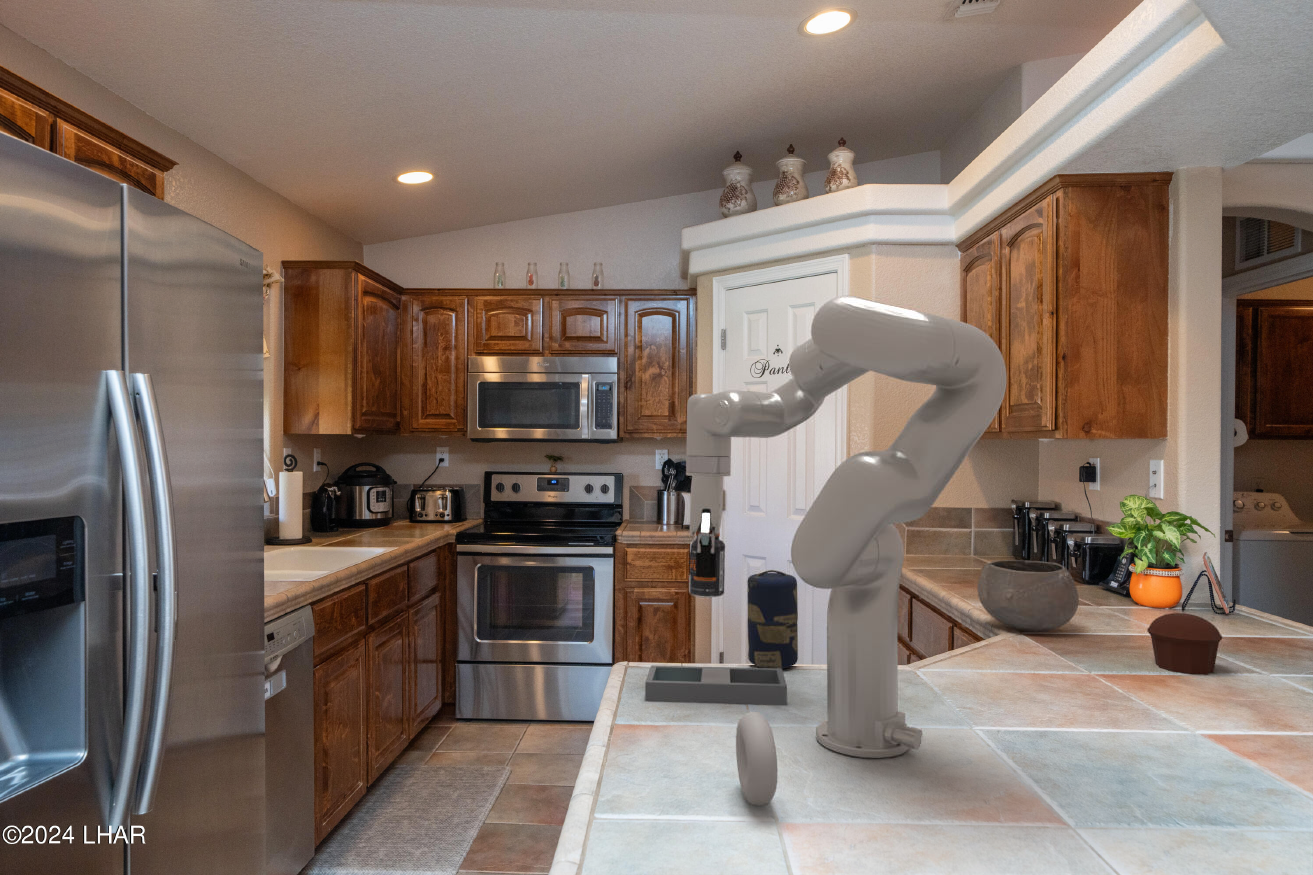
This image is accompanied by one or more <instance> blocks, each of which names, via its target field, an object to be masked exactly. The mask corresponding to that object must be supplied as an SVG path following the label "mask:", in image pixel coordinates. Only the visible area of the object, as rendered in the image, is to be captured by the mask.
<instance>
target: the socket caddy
mask: <svg viewBox="0 0 1313 875" xmlns="http://www.w3.org/2000/svg"><path fill="white" fill-rule="evenodd" d="M646 676H647V677H646V679H645V682H644V683H645V684H644V685H645V687H644V688H645V690H644V691H645V693H644V695H645V697H644V701H646V702H672V703H673V702H676V703H677V702H678V703H704V704H705V703H707V704H708V703H710V704H711V703H712V704H737V705H738V704H739V705H740V704H741V705H743V704H744V705H775V706H787V705H788V685H787V682H786V678H785V675H784V671H783V668H780V669H775V668H764V667H728V666H727V667H724V666H696V665H695V666H693V665H689V666H688V665H686V666H685V665H657V664H655V665H654V664H653V665H650V667H649V671H648V673H647V675H646Z"/></svg>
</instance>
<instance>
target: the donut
mask: <svg viewBox="0 0 1313 875" xmlns="http://www.w3.org/2000/svg"><path fill="white" fill-rule="evenodd" d="M735 752H736V753H735V754H736V756H735V757H736V764H737V765H736V767H737V774H738V780H739V784H740V787H741V788H740V789H741V791H742V794H743V795H744V797H745V798H746V800H747V802H749V803H750V804H752V805H754V806H759V807H760V806H765V805H767V804H769V803H771V802H772V800H773V799H774V796H775V794H776V792H777V785H778V759H777V758H778V757H777V748H776V743H775V737H774V734H773V730H772V726H771V725H770V723H769V720H767V718H766V717H765V716H764V715H763V714H761V713H760V712H757V711H749V712H747V713H744V714H743V715H742V716H741V717H740V719H739V720H738V722H737V727H736V733H735Z"/></svg>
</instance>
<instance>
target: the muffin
mask: <svg viewBox="0 0 1313 875" xmlns="http://www.w3.org/2000/svg"><path fill="white" fill-rule="evenodd" d="M1147 633H1148V635H1150V638H1151V644H1152V649H1153V655H1154V656H1153V657H1154V660H1155V665H1157V667H1158V668H1159V669H1162V670H1166V671H1168V672H1171V673H1179V674H1185V675H1193V676H1195V675H1196V676H1208V675H1210V674H1214V671H1215V667H1216V661H1217V655H1218V650H1219V644H1220V642H1221V641H1222V640H1223V635H1222V634H1221V633H1220V630H1219V629H1218V627H1216V626H1215V625H1214V624H1213V623H1212V622H1210V621H1209V620H1208V619H1204V617H1202V616H1199V615H1195V614H1191V613H1184V612H1171V613H1166V614H1163V615H1161V616H1158V617H1156V618H1155V619H1154V620H1153V621H1151V623H1150V625H1149V626H1148V627H1147Z"/></svg>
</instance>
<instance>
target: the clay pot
mask: <svg viewBox="0 0 1313 875" xmlns="http://www.w3.org/2000/svg"><path fill="white" fill-rule="evenodd" d="M980 570H981V574H980V575H979V578H978V580H977V581H978V582H977V586H976V588H977V589H976V590H977V596H978V599H979V601H980V604H981V605H982V607H983V608H984V610H985V611H986V612H987V613H988V615H990V616H991V617H992V618H993V619H994V620H996V621H998V622H999V623H1001V624H1003V625H1005V626H1007V627H1010V628H1011V629H1016V630H1020V631H1026V632H1045V631H1046V632H1048V631H1053V630H1057V629H1059V628H1061V627H1062V626H1065V625H1067V624H1068V623H1069V622H1070V621H1071V620H1072V619H1073V617H1074V616H1075V615H1076V613H1077V611H1078V607H1079V602H1080V598H1079V592H1078V589H1077V585H1076V583H1075V580H1074V578H1073V576H1072V575H1071V573H1070V572H1069V570H1068V569H1067V568H1066V567H1065V566H1063V565H1061V564H1059V563H1057V562H1050V561H1049V562H1048V561H1042V560H1041V561H1037V560H1024V559H1007V560H996V561H991V562H987V563H985V564H984V565H983V566H982V567H981V569H980Z"/></svg>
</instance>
